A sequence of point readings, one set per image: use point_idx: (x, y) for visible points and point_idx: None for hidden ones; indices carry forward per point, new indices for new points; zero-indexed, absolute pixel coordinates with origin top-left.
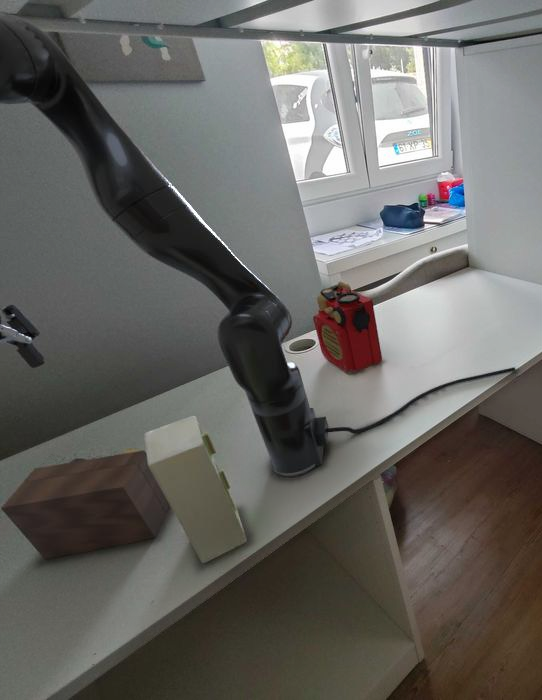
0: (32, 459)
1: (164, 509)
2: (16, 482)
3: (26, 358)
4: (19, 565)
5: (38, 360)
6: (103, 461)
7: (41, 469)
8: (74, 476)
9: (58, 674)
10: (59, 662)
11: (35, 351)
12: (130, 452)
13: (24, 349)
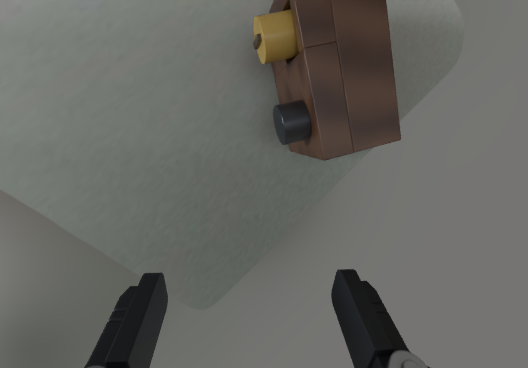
0: (192, 293)
1: None
2: (233, 275)
3: (155, 334)
4: (347, 160)
5: (154, 285)
6: (315, 38)
7: (327, 146)
8: (348, 68)
9: (453, 23)
10: (444, 30)
11: (124, 319)
12: (270, 26)
13: (137, 359)
